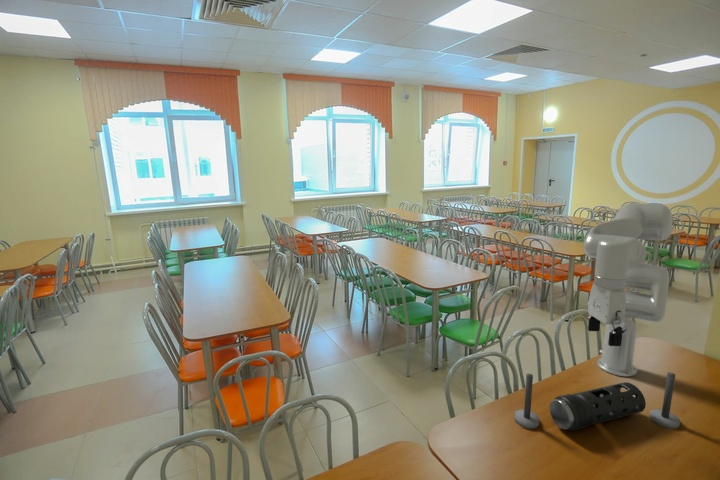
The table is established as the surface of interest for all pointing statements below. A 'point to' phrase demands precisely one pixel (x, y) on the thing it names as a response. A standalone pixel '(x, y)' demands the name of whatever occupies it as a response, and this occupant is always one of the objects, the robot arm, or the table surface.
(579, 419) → the muzzle brake
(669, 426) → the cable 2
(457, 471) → the table surface
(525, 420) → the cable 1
